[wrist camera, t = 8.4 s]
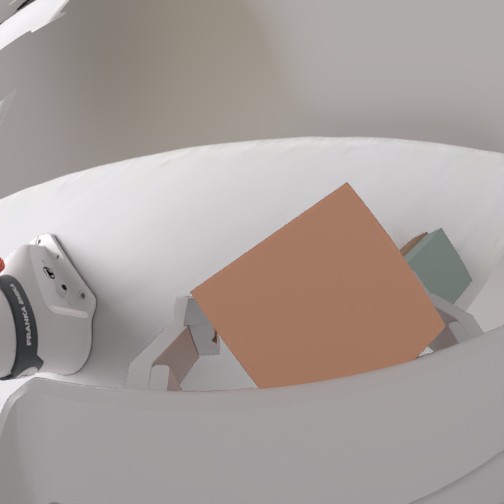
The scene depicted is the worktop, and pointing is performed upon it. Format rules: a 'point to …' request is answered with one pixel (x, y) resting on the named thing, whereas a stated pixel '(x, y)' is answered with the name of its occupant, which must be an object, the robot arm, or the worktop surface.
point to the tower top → (439, 266)
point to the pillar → (321, 299)
